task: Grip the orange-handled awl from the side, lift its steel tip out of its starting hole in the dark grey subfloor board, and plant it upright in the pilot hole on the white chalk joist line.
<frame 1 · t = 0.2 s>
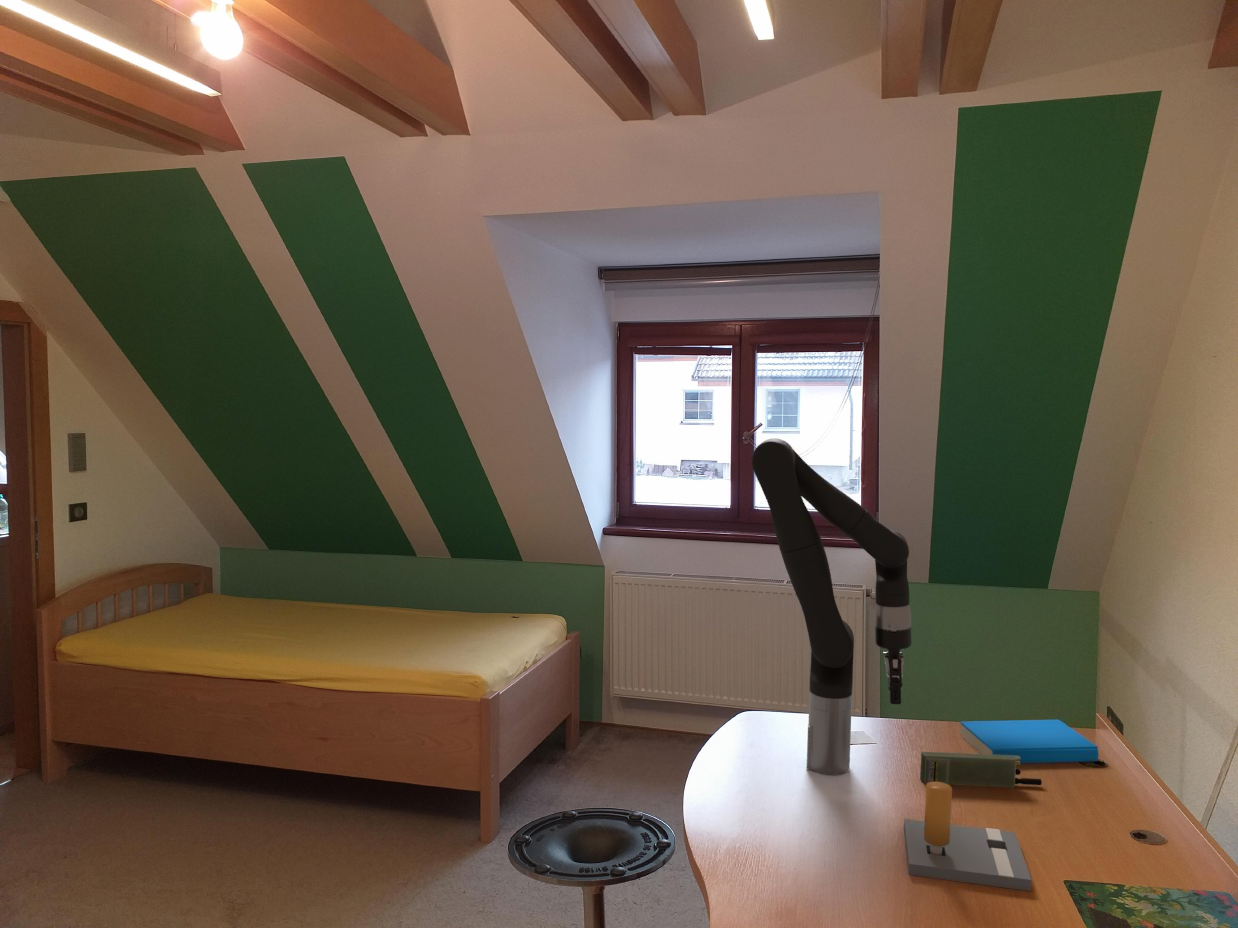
hand: (894, 696, 203), 17 cm above the table, tool pointing down, fingers open, 8 cm apart
subfloor board: (963, 857, 170), on the table
awl: (935, 860, 168), resting in subfloor board
handheld radio: (980, 785, 200), on the table
book: (1026, 750, 219), on the table
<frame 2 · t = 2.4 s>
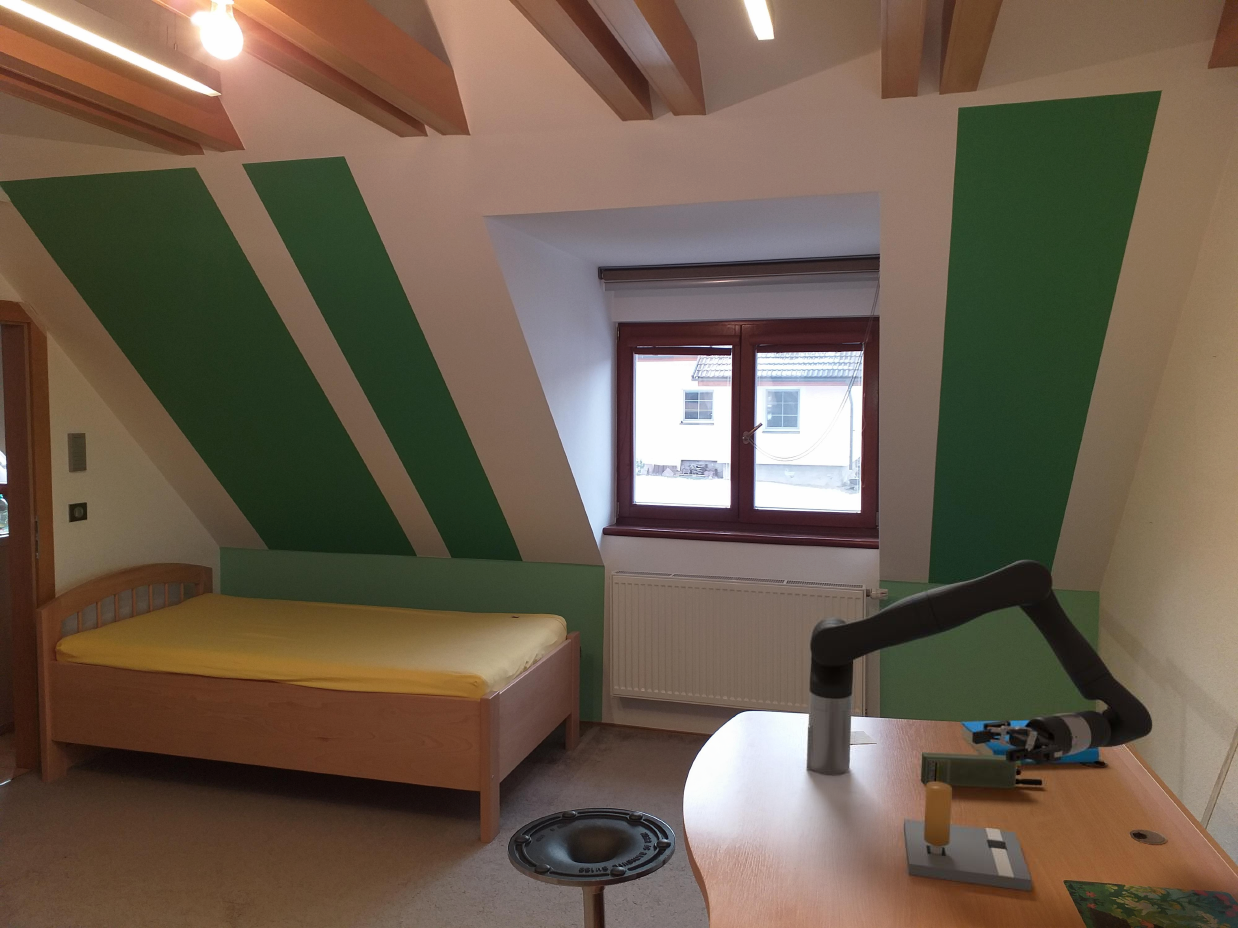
hand: (990, 746, 170), 20 cm above the table, tool horizontal, fingers open, 8 cm apart
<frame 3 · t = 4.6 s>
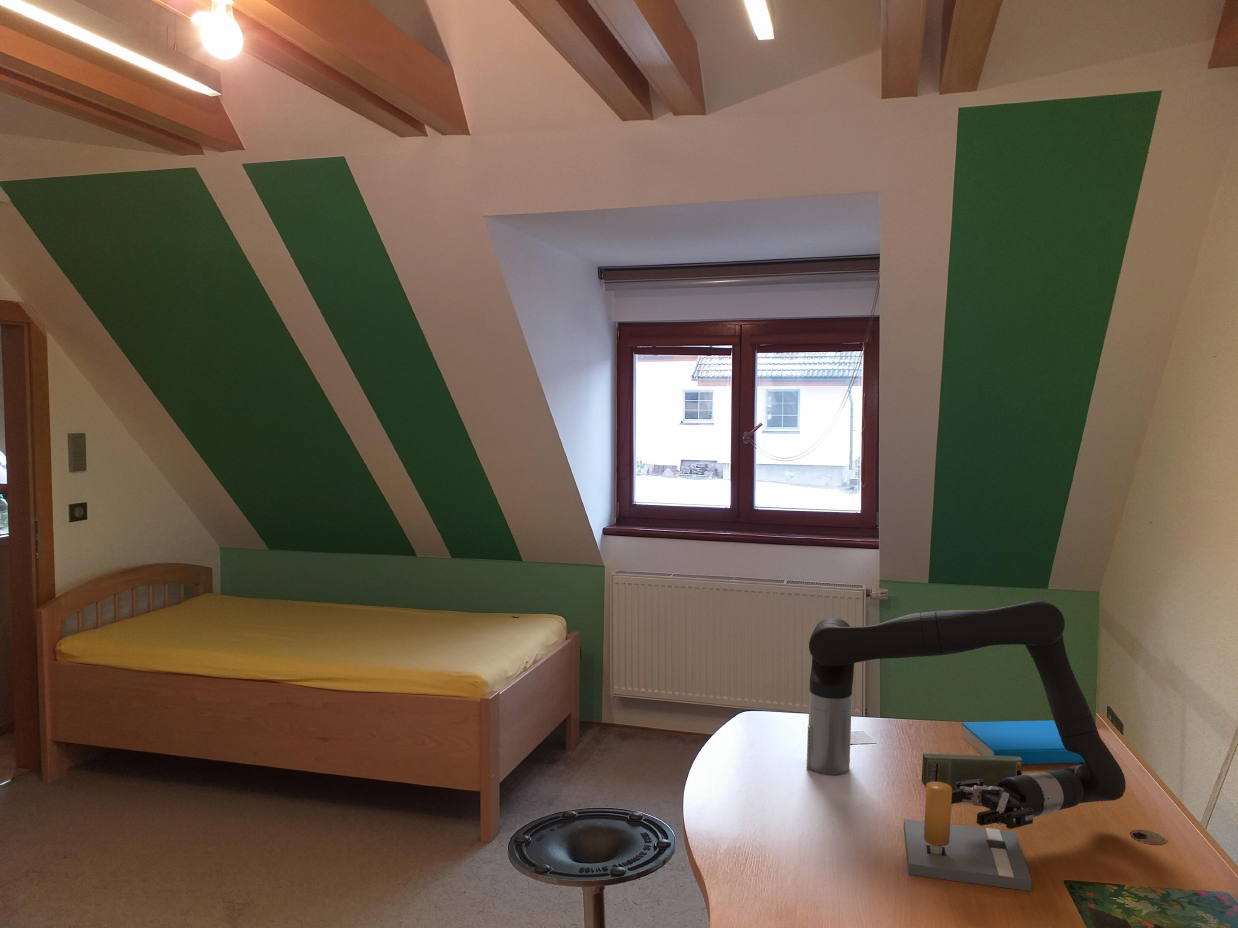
hand: (961, 808, 169), 9 cm above the table, tool horizontal, fingers open, 8 cm apart
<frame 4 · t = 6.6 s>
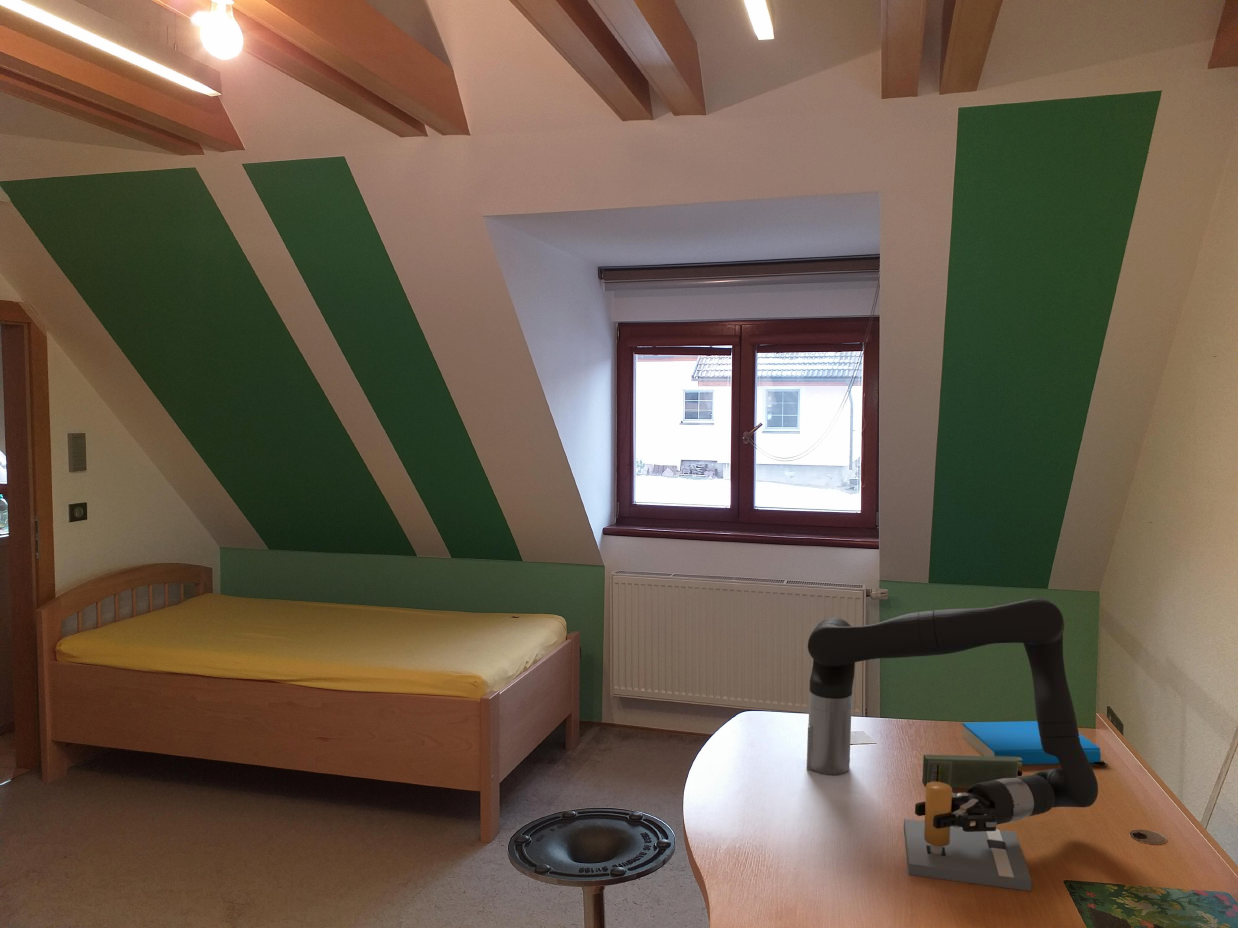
hand: (925, 815, 166), 9 cm above the table, tool horizontal, fingers closed on awl, 4 cm apart
awl: (935, 860, 168), resting in subfloor board, touching gripper
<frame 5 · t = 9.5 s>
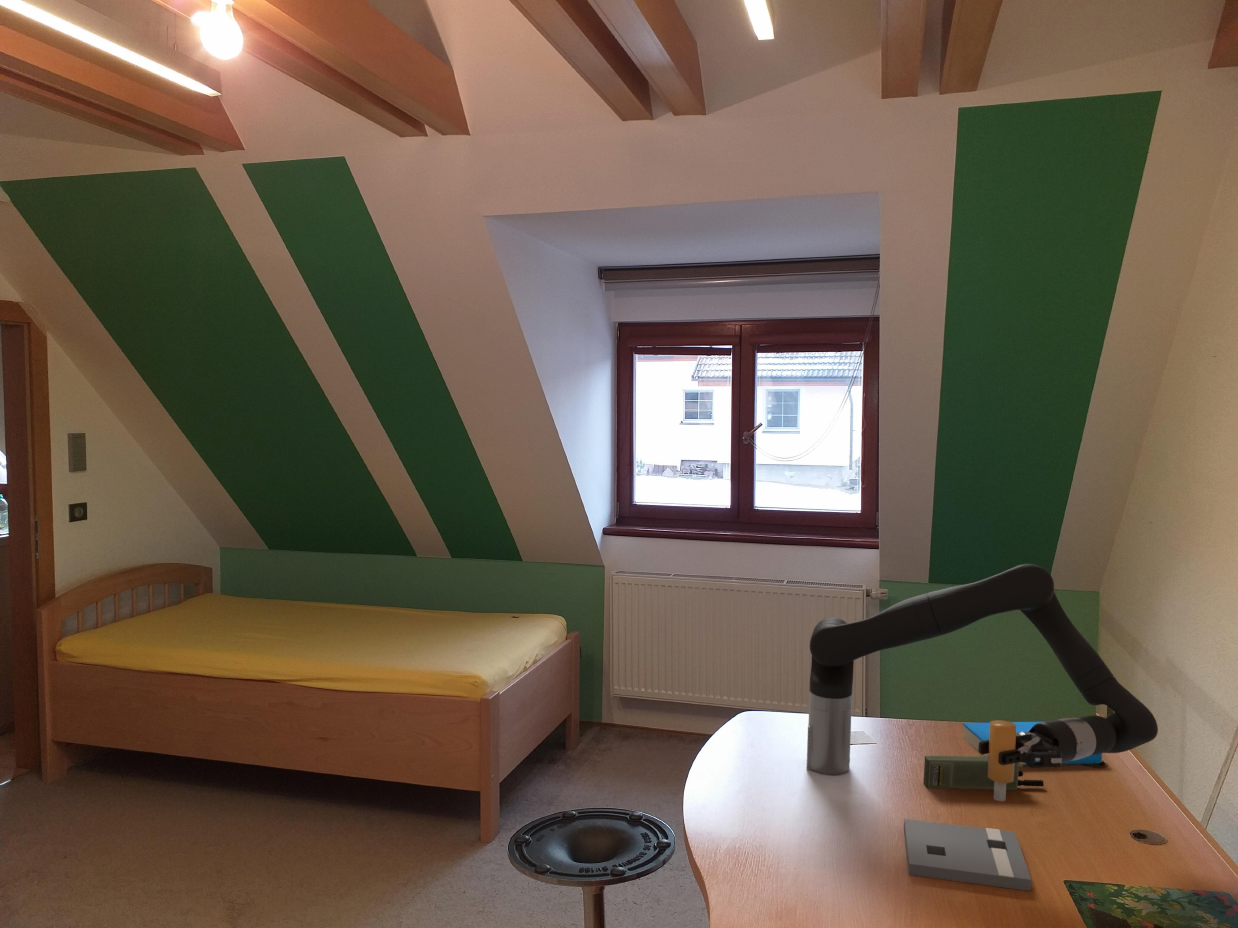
hand: (990, 753, 167), 20 cm above the table, tool horizontal, fingers closed on awl, 4 cm apart
awl: (999, 798, 169), point 11 cm above the table, touching gripper
when the fingers open (10 cm above the table, at t = 12.2 s): awl stays where it is, resting in subfloor board.
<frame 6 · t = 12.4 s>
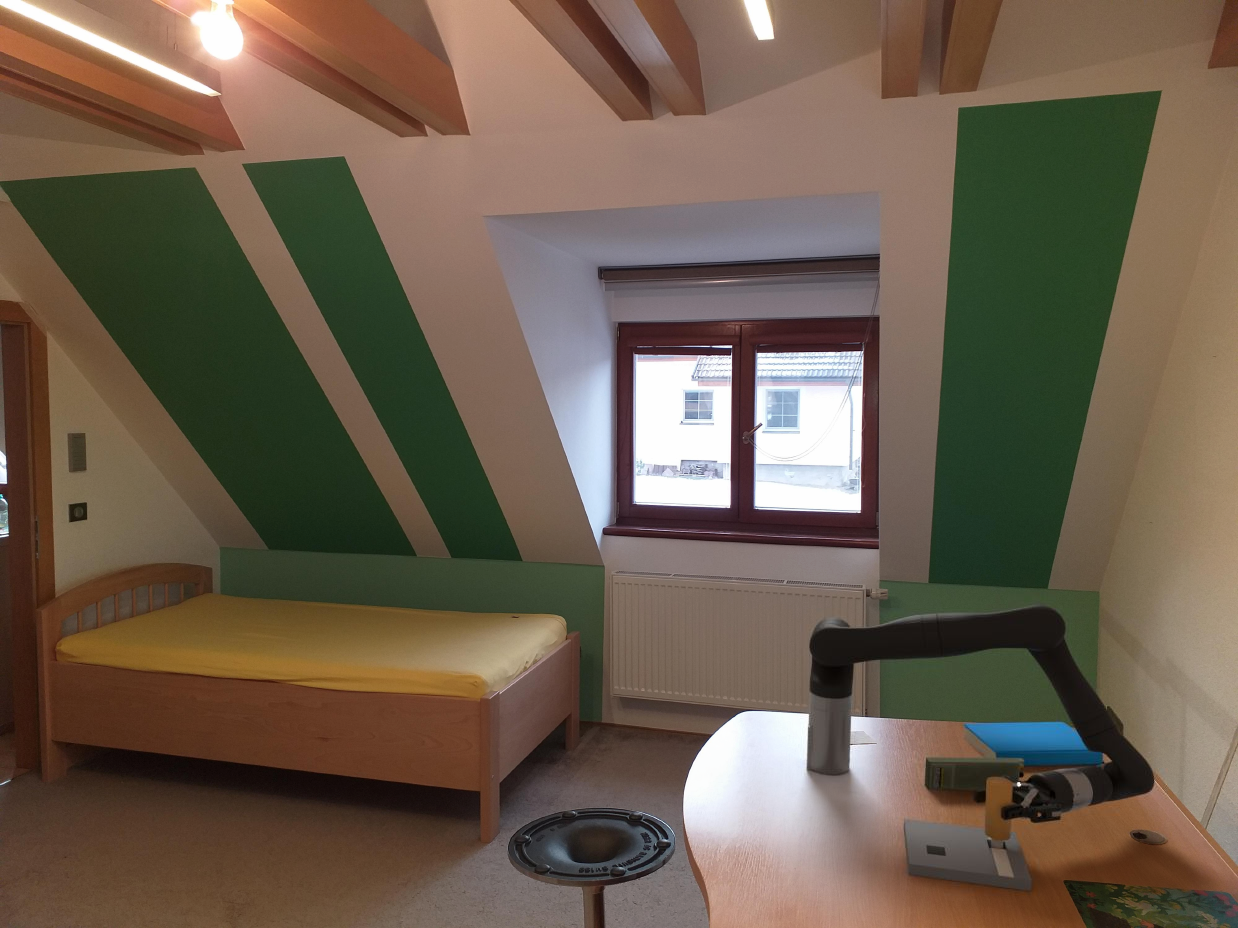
hand: (988, 805, 169), 10 cm above the table, tool horizontal, fingers open, 6 cm apart
awl: (996, 854, 171), resting in subfloor board
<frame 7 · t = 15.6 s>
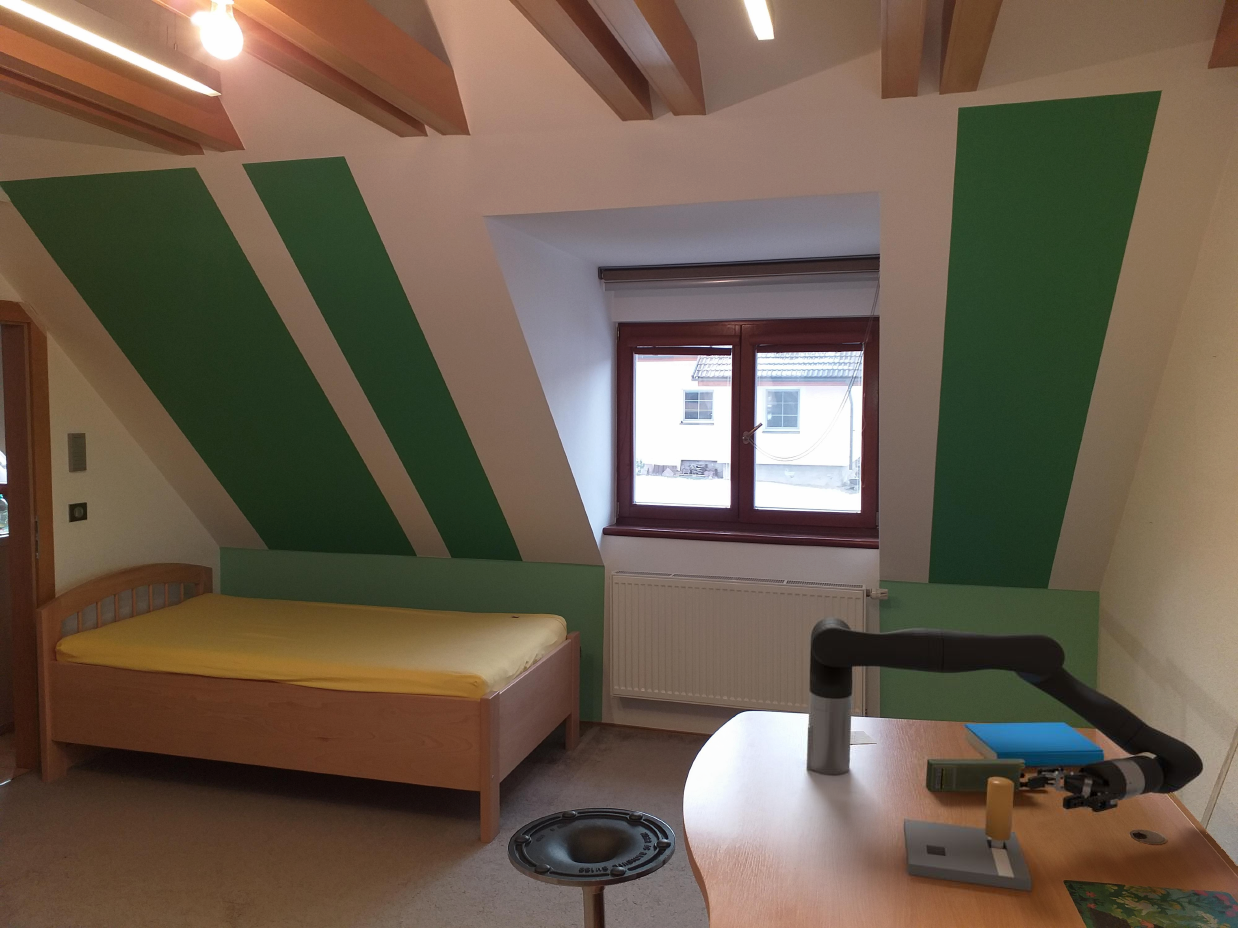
hand: (1046, 793, 173), 10 cm above the table, tool horizontal, fingers open, 8 cm apart
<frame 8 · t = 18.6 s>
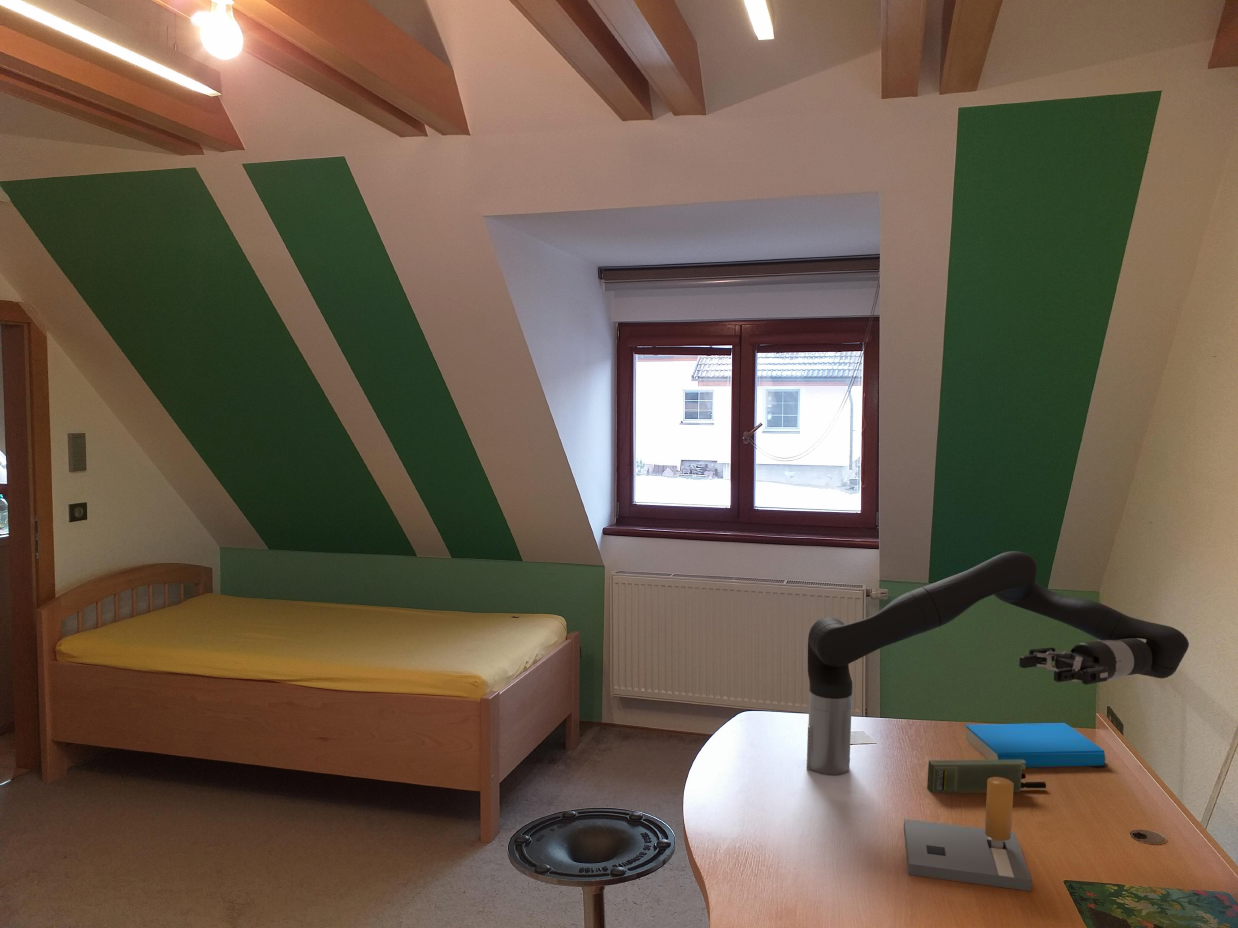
hand: (1037, 669, 177), 32 cm above the table, tool horizontal, fingers open, 8 cm apart
at the end: awl 0.1 cm from the target spot on the subfloor board, point 0.0 cm above the subfloor board's base; awl tilted 0°; the gripper is holding nothing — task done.
